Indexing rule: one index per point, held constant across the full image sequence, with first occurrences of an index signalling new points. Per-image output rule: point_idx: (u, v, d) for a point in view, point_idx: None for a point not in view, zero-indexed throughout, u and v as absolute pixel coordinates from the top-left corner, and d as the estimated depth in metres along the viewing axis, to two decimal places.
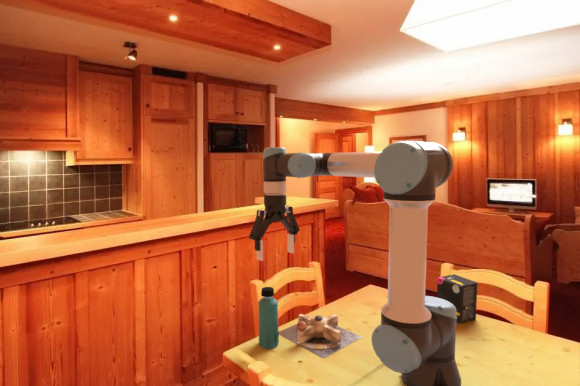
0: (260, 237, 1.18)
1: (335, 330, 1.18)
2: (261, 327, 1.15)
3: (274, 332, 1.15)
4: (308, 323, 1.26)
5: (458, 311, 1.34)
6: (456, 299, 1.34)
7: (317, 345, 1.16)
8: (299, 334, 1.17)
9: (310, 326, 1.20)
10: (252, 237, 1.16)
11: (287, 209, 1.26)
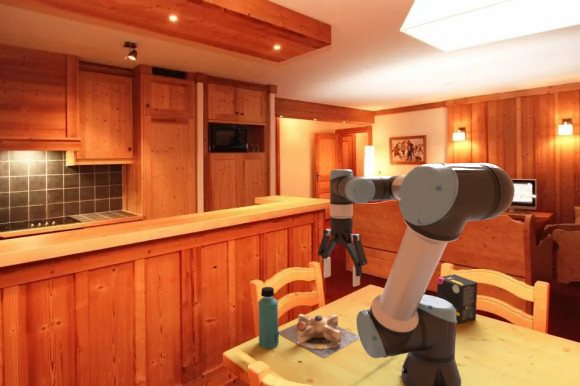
0: (323, 254, 1.25)
1: (335, 330, 1.18)
2: (261, 327, 1.15)
3: (274, 332, 1.15)
4: (308, 323, 1.26)
5: (458, 311, 1.34)
6: (456, 299, 1.34)
7: (317, 345, 1.16)
8: (299, 334, 1.17)
9: (310, 326, 1.20)
10: None
11: (353, 236, 1.17)
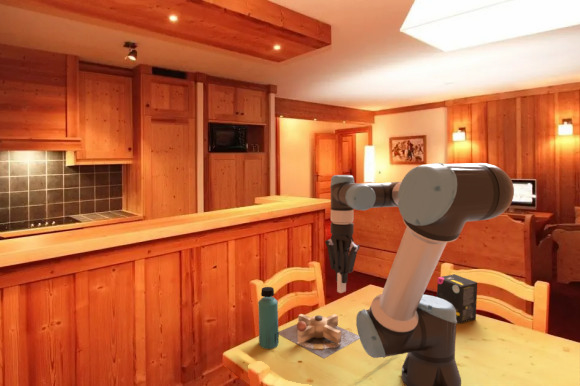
0: (336, 268, 1.22)
1: (335, 330, 1.18)
2: (261, 327, 1.15)
3: (274, 332, 1.15)
4: (308, 323, 1.26)
5: (458, 311, 1.34)
6: (456, 299, 1.34)
7: (317, 345, 1.16)
8: (299, 334, 1.17)
9: (310, 326, 1.20)
10: None
11: (352, 245, 1.17)
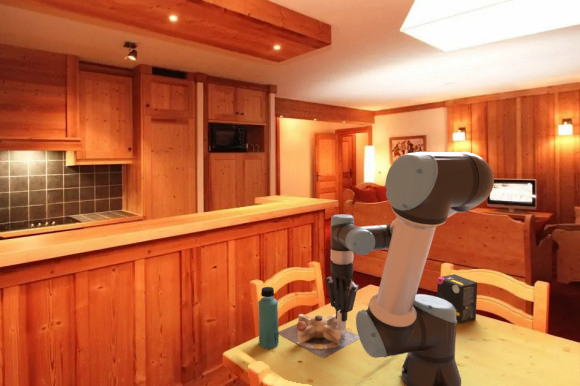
0: (336, 306, 1.23)
1: (335, 330, 1.18)
2: (261, 327, 1.15)
3: (274, 332, 1.15)
4: (308, 323, 1.26)
5: (458, 311, 1.34)
6: (456, 299, 1.34)
7: (317, 345, 1.16)
8: (299, 334, 1.17)
9: (310, 326, 1.20)
10: None
11: (352, 285, 1.18)
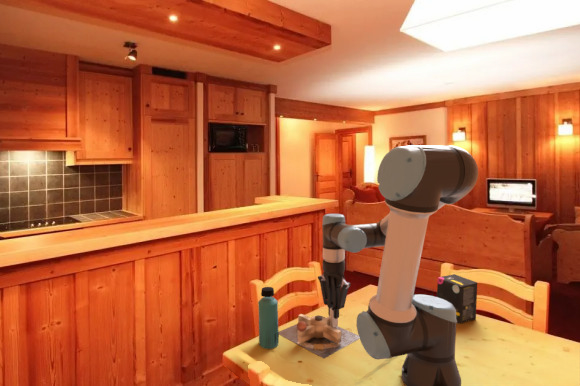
0: (328, 304, 1.26)
1: (335, 330, 1.18)
2: (261, 327, 1.15)
3: (274, 332, 1.15)
4: (308, 323, 1.26)
5: (458, 311, 1.34)
6: (456, 299, 1.34)
7: (317, 345, 1.16)
8: (299, 334, 1.17)
9: (310, 326, 1.20)
10: None
11: (343, 283, 1.21)
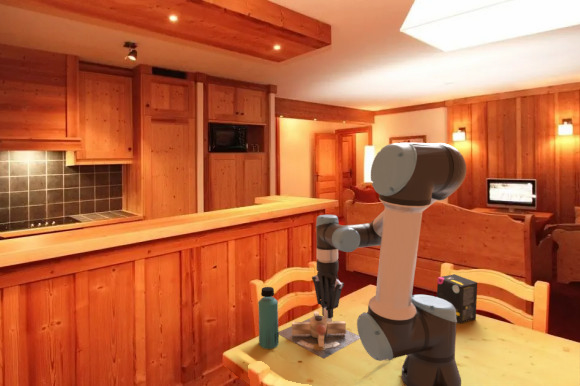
0: (322, 303, 1.28)
1: (341, 322, 1.23)
2: (261, 327, 1.15)
3: (274, 332, 1.15)
4: (306, 327, 1.22)
5: (458, 311, 1.34)
6: (456, 299, 1.34)
7: (317, 345, 1.16)
8: (321, 338, 1.14)
9: None
10: None
11: (337, 283, 1.23)
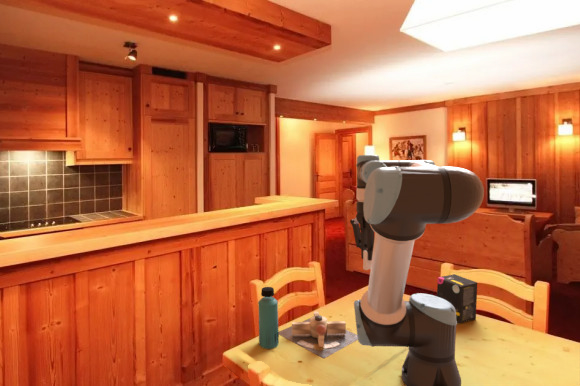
0: (362, 246, 1.25)
1: (341, 322, 1.23)
2: (261, 327, 1.15)
3: (274, 332, 1.15)
4: (306, 327, 1.22)
5: (458, 311, 1.34)
6: (456, 299, 1.34)
7: (317, 345, 1.16)
8: (321, 338, 1.14)
9: None
10: None
11: None
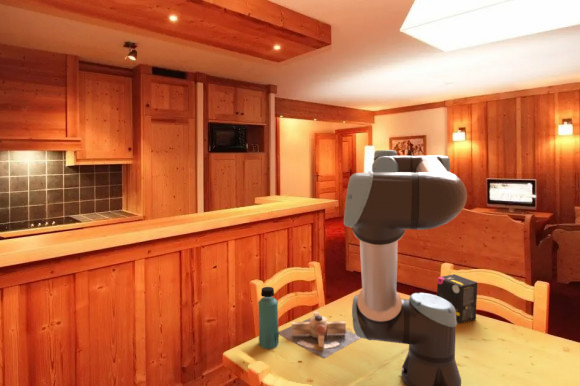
0: None
1: (341, 322, 1.23)
2: (261, 327, 1.15)
3: (274, 332, 1.15)
4: (306, 327, 1.22)
5: (458, 311, 1.34)
6: (456, 299, 1.34)
7: (317, 345, 1.16)
8: (321, 338, 1.14)
9: None
10: None
11: None
